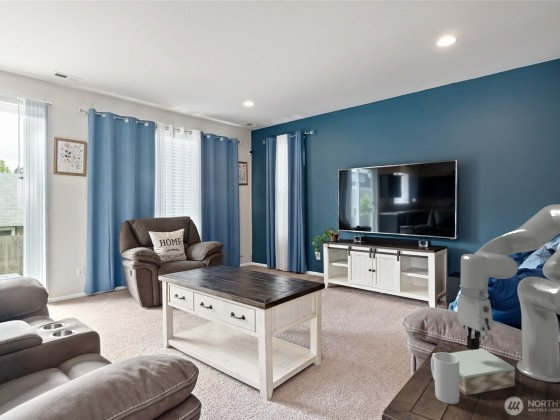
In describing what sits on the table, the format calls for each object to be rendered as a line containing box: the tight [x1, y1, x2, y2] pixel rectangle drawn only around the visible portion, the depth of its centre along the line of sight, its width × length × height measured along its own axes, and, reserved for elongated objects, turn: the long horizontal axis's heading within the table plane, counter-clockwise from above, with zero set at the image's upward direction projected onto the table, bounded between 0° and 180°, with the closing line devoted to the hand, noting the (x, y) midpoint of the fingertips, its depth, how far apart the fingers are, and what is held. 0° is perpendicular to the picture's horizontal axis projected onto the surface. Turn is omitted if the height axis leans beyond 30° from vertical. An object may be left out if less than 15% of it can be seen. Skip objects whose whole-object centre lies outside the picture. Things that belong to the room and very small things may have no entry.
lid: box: [448, 347, 516, 379], centre depth 104 cm, size 18×12×1 cm
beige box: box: [459, 370, 516, 396], centre depth 104 cm, size 18×13×5 cm
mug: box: [430, 351, 460, 405], centre depth 97 cm, size 10×7×12 cm, turn 12°
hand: (473, 348), depth 105 cm, fingers closed
